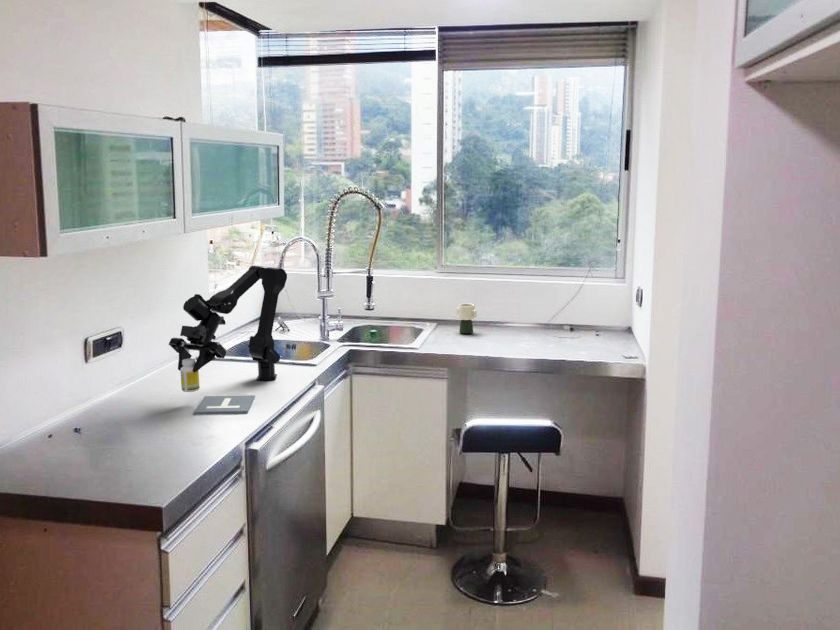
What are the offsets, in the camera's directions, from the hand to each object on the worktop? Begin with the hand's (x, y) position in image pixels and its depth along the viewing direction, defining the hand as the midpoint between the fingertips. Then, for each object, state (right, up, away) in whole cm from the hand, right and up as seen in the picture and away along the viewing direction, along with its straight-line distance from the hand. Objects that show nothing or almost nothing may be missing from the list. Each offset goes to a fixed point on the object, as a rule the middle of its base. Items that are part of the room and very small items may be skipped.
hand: (186, 370), depth 239 cm
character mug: (+93, +9, +105) cm, 141 cm away
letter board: (+12, -11, +2) cm, 16 cm away
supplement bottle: (+1, -6, +3) cm, 7 cm away
